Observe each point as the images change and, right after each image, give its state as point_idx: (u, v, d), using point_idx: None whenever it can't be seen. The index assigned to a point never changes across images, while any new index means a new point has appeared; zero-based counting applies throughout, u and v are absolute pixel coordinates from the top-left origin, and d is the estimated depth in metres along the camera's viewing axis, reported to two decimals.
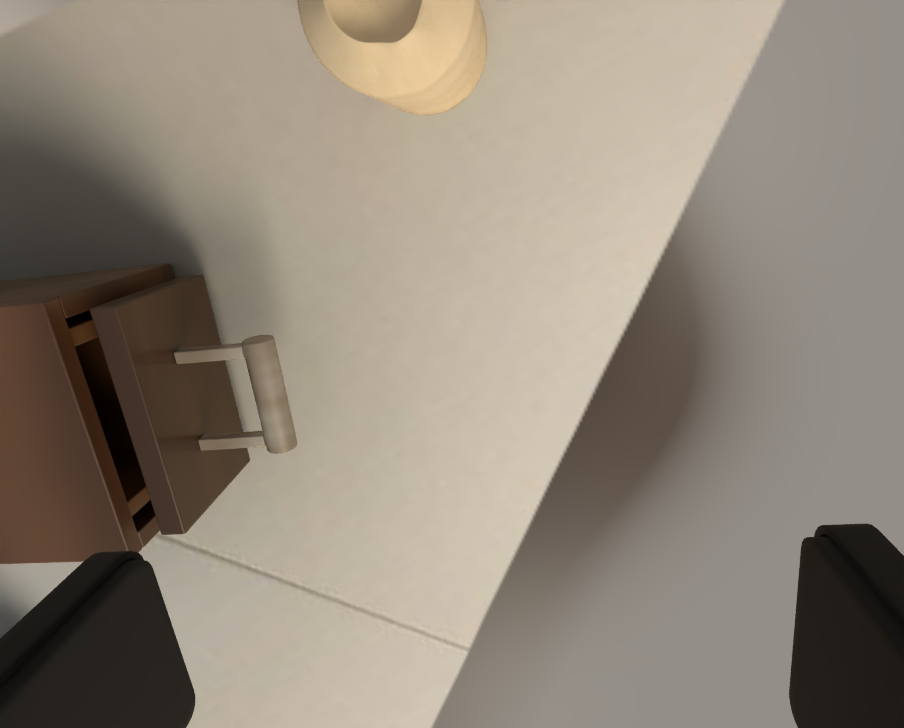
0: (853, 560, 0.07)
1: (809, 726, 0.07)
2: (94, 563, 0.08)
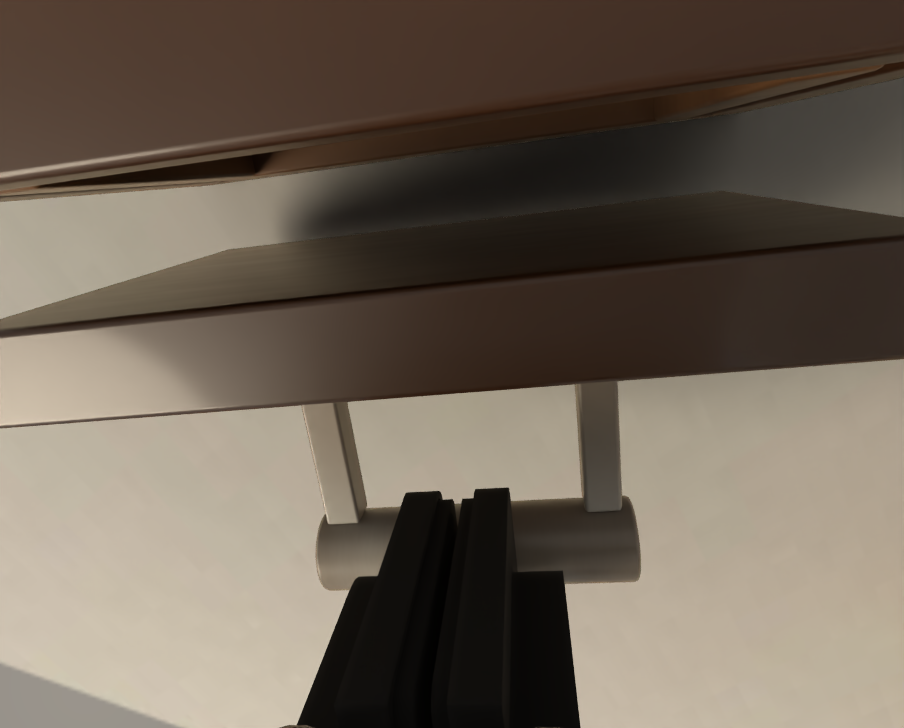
0: (473, 513, 0.08)
1: None
2: (416, 500, 0.09)
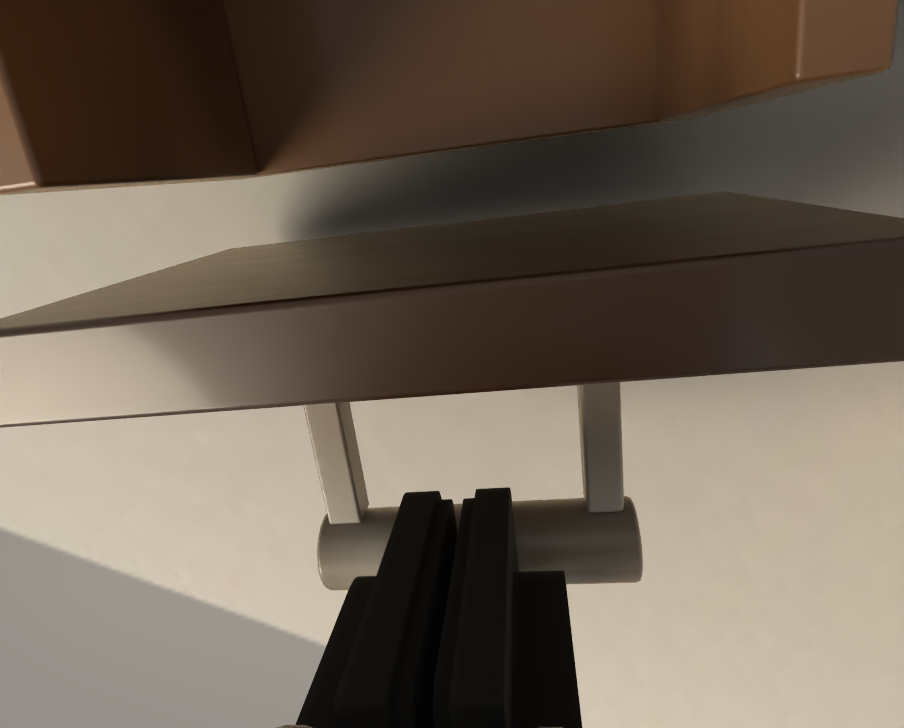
0: (474, 514, 0.08)
1: None
2: (415, 500, 0.09)
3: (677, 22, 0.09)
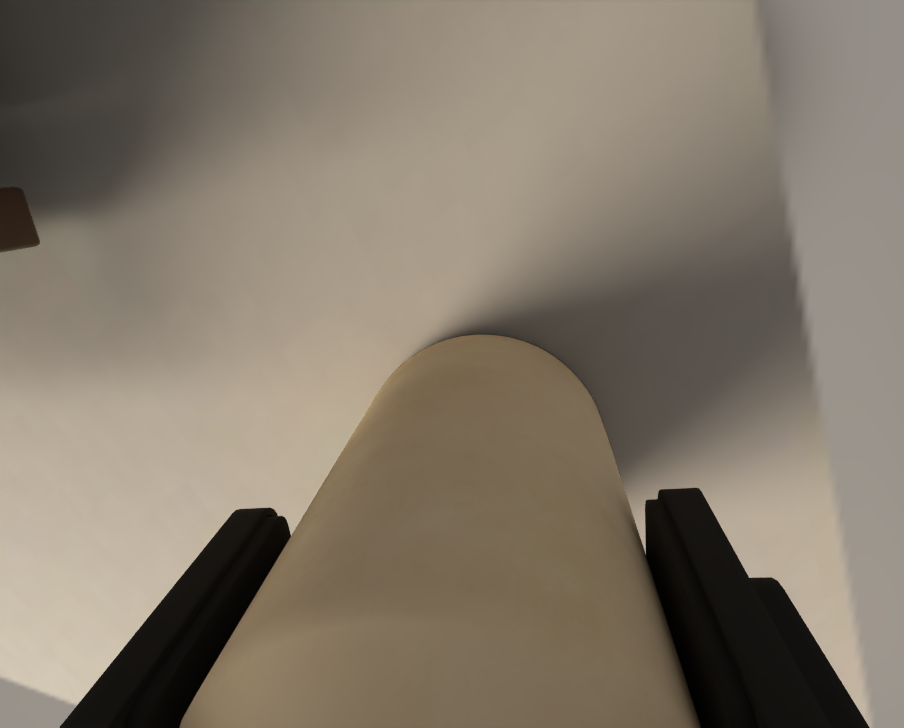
0: (672, 516, 0.08)
1: None
2: (241, 517, 0.09)
3: None
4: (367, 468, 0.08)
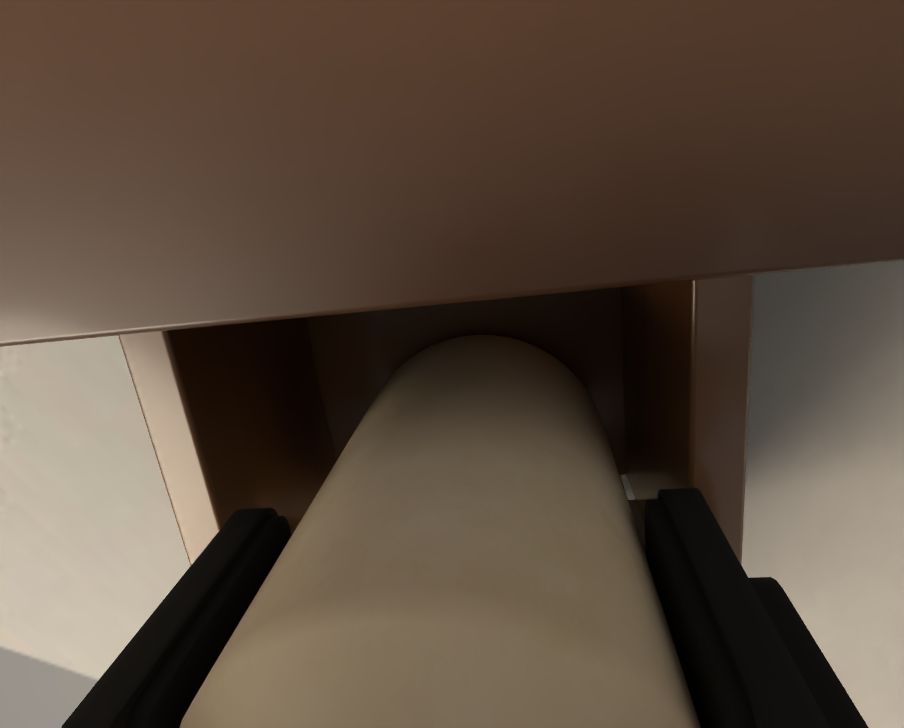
0: (672, 516, 0.08)
1: None
2: (242, 517, 0.09)
3: (636, 457, 0.13)
4: (366, 468, 0.08)
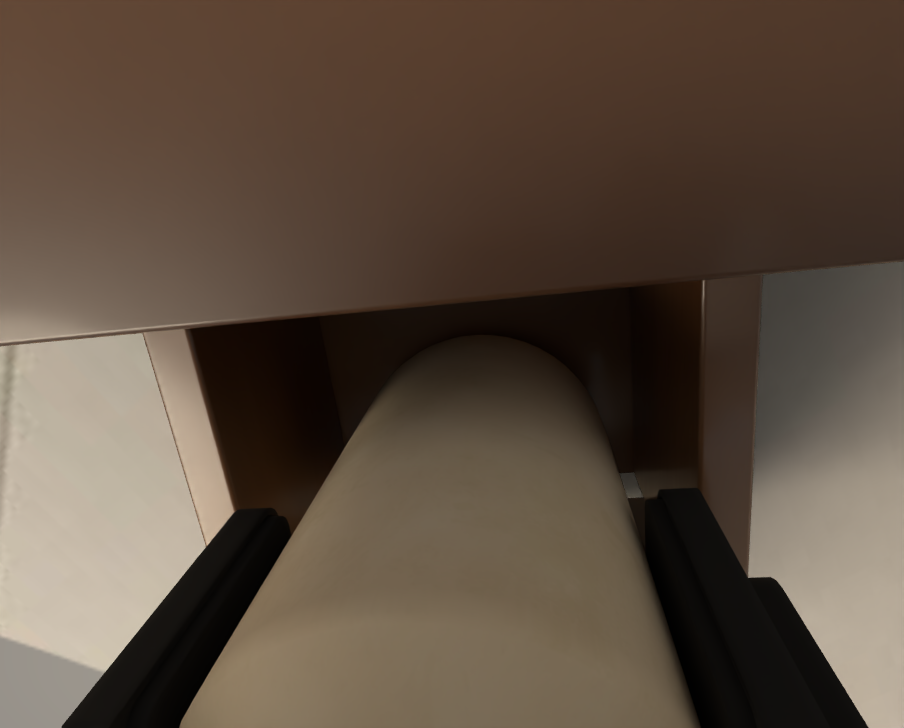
0: (671, 516, 0.08)
1: None
2: (242, 517, 0.09)
3: (644, 455, 0.13)
4: (366, 469, 0.08)
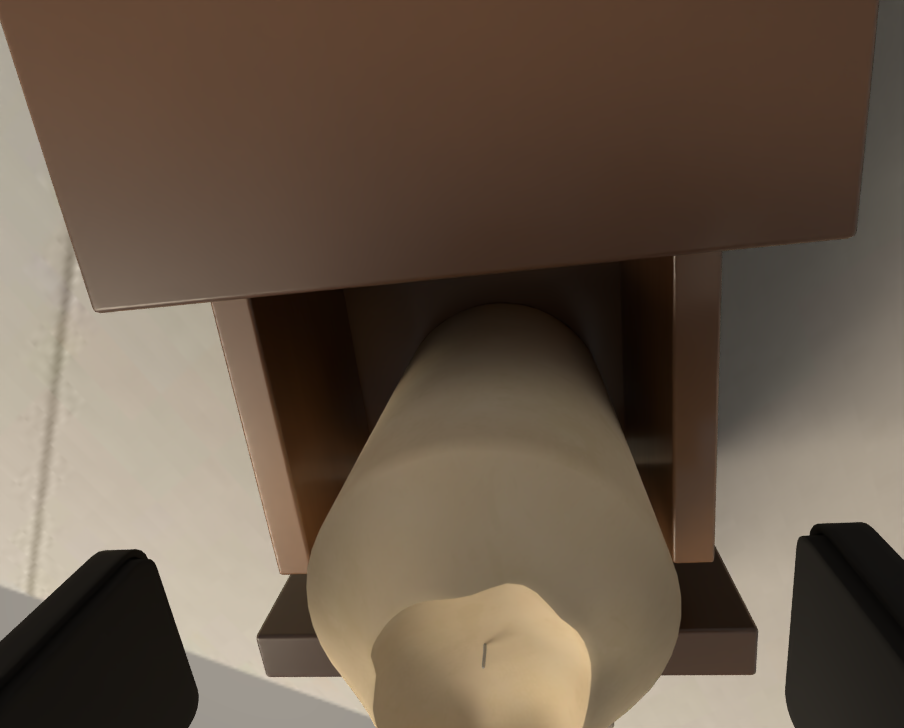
0: (847, 558, 0.07)
1: (804, 724, 0.08)
2: (98, 561, 0.08)
3: (633, 419, 0.15)
4: (427, 385, 0.11)
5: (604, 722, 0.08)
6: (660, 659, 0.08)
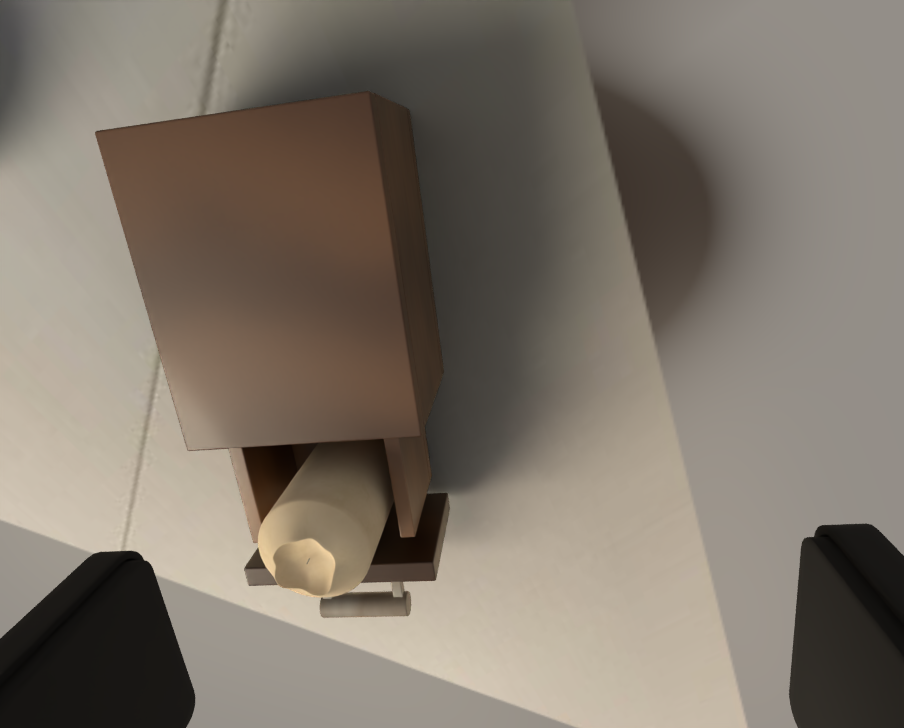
0: (853, 560, 0.07)
1: (809, 726, 0.07)
2: (94, 563, 0.08)
3: None
4: (304, 473, 0.30)
5: (342, 580, 0.27)
6: (363, 563, 0.27)
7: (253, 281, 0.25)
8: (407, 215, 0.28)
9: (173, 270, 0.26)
